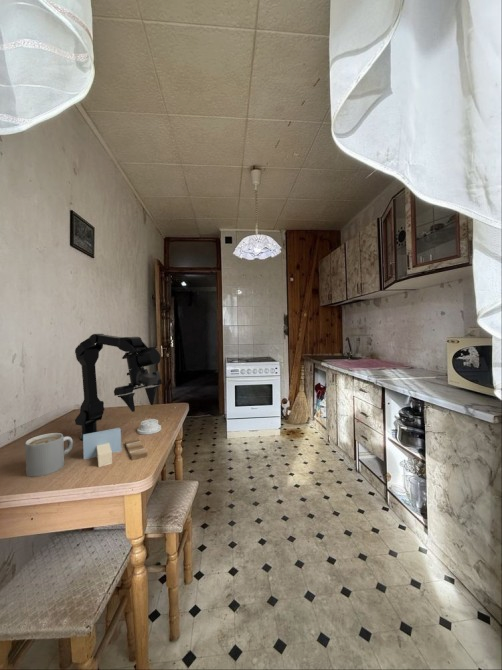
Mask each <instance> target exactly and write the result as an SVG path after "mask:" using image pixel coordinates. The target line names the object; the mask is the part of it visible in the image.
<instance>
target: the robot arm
mask: <svg viewBox="0 0 502 670" xmlns="http://www.w3.org/2000/svg"><path fill="white" fill-rule="evenodd" d="M104 346H110V347H115V348H118V349H119V350H120V351H122V352H125V353H124V355H123V356H122V357H121V359H122V360H126V363H127V369H128V372H126V376H129V381H130V382H129V383H128V384H126V385H122V386H121V385H120V386H118V387H114V390H113V394H114V397H115V396H117V398H120V399H121V400H122V401H123V402H124V404H126V405H127V407H128V408H129V409H130V411H131V412H135V411H136V408H135V407H136V406H135V401H134V396H135V394H136V393H135V392H134V391H135V390H139V389H142V388H144V390H145V393H146V395H147V399H148V402H149V404H150V405H151V406H153V405H154V402H155V398H156V397H155V396H156V393H157V390H158V388H160V386H161V385H163V381H162V379H161V373H160V371H159V370H155V371H153V372H151V373H150V372H149V371H148V369H147V368H146V367H149V366H154V365H158V364H160V363H161V354H160V352H159V351H158V350H157V349H156V347H155V346H149V347H148V346H147V344H146V343H145V342H144V341H143V340H142V338H141V337H140V336H125V337H124V336H115V335H109V334H105V333H93V334H91V335H90V336H89V337H88V338H87V339H84V340H83V341H81V342H79V344H78V345H77V346H76V347H75V350H74V352H75V353H74V354H75V358H76V361H77V362H78V363H79V364H80V366H81V374H82V375H81V376H82V388H83V389H82V391H83V400H82V403H81V405H80V407H79V414H78V415H77V416H76V418H75V419H74V424H75V425H76V426H80V427H81V428H80V431H81V434H80V437H79V438H80V441H83V435H84V434H89V433H94V432H99V431H98V421H101V420H102V418H103V415H104V411H105V406H104V403H105V402H104V401H103V400H100V398H99V397H98V396H99V395H98V386H97V372H96V363H97V362H98V360H99V357H100V351H101V350H102V349H103V348H104Z"/></svg>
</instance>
